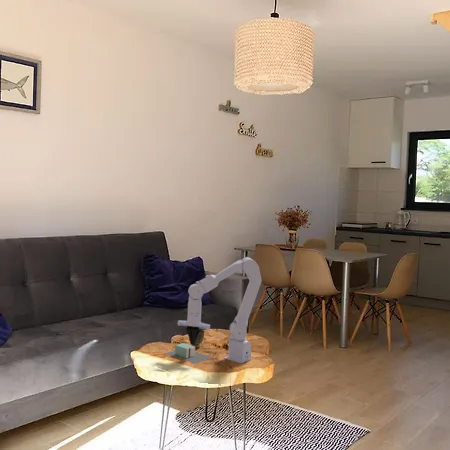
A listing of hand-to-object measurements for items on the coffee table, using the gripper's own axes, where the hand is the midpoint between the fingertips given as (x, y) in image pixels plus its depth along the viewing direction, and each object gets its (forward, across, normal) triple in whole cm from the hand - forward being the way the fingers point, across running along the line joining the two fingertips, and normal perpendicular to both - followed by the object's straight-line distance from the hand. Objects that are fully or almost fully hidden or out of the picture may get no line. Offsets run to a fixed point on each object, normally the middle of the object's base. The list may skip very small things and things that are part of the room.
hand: (192, 344), depth 232 cm
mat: (+6, +2, -2) cm, 7 cm away
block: (+4, +1, 0) cm, 4 cm away
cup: (+6, +6, -17) cm, 19 cm away
